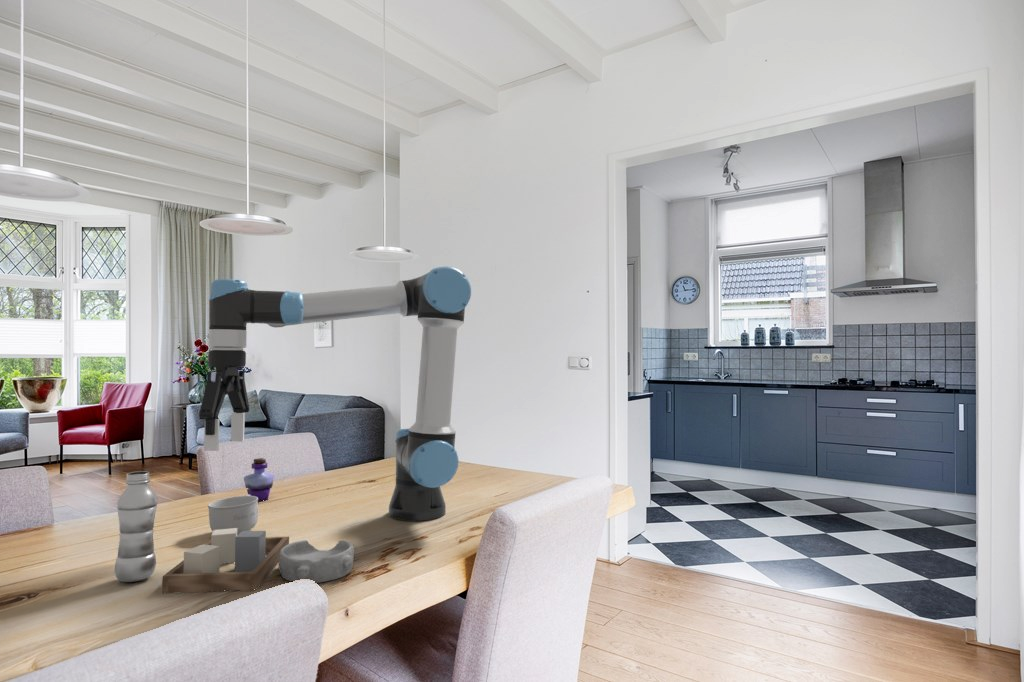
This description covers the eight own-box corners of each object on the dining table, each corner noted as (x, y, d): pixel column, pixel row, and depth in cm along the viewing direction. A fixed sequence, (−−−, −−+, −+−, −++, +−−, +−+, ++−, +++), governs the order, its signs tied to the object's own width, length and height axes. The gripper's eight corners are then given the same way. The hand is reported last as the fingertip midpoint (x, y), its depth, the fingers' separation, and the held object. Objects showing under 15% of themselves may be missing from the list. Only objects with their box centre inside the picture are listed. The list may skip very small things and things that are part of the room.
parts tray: (288, 550, 129) (289, 536, 129) (255, 590, 107) (255, 573, 107) (212, 552, 127) (212, 538, 127) (162, 593, 105) (162, 576, 105)
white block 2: (236, 556, 125) (237, 527, 125) (235, 562, 121) (235, 533, 121) (213, 559, 123) (213, 530, 123) (210, 565, 119) (211, 535, 119)
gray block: (265, 565, 119) (265, 530, 120) (258, 572, 115) (259, 536, 116) (242, 566, 119) (242, 531, 119) (234, 573, 115) (235, 537, 115)
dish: (278, 565, 120) (278, 541, 120) (349, 557, 125) (349, 533, 125) (278, 592, 106) (279, 564, 106) (357, 582, 111) (358, 555, 112)
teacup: (238, 542, 134) (238, 506, 134) (196, 539, 136) (197, 504, 136) (274, 525, 148) (275, 493, 148) (236, 522, 150) (236, 490, 150)
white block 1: (219, 577, 113) (219, 546, 113) (201, 586, 108) (202, 553, 108) (201, 575, 114) (202, 544, 114) (183, 584, 109) (183, 551, 109)
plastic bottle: (126, 574, 114) (128, 470, 115) (162, 573, 115) (165, 469, 115) (106, 587, 108) (108, 476, 108) (145, 586, 108) (147, 476, 109)
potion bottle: (280, 497, 177) (281, 456, 177) (264, 504, 168) (265, 461, 169) (253, 495, 178) (254, 455, 178) (236, 502, 170) (237, 460, 170)
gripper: (233, 349, 143) (230, 437, 143) (182, 348, 118) (179, 454, 118) (264, 350, 144) (262, 437, 143) (220, 348, 119) (218, 454, 118)
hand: (225, 445), depth 130 cm, fingers open, 13 cm apart
